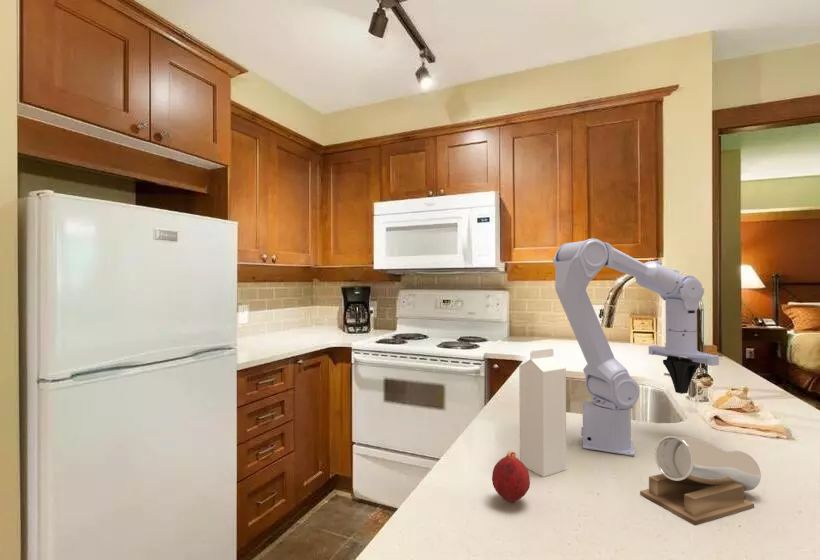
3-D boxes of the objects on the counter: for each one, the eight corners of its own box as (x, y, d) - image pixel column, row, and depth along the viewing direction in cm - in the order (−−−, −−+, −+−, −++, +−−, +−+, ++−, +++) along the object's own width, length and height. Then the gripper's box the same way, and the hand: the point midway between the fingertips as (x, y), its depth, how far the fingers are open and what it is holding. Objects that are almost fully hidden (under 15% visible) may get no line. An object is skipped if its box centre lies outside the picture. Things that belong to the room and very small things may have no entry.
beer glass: (773, 488, 64) (701, 476, 60) (731, 498, 69) (662, 486, 65) (750, 442, 68) (683, 428, 64) (712, 454, 73) (647, 441, 69)
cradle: (640, 494, 67) (640, 475, 67) (695, 481, 72) (695, 463, 72) (695, 525, 59) (694, 503, 59) (754, 507, 63) (754, 487, 63)
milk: (566, 470, 76) (567, 351, 76) (543, 477, 73) (543, 353, 73) (541, 457, 82) (541, 346, 82) (518, 464, 79) (519, 348, 79)
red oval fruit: (523, 516, 61) (523, 462, 61) (486, 505, 64) (486, 454, 64) (534, 499, 66) (534, 449, 66) (499, 489, 69) (499, 441, 69)
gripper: (728, 333, 85) (729, 399, 85) (663, 326, 98) (664, 383, 98) (705, 335, 82) (705, 403, 82) (641, 327, 96) (642, 386, 96)
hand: (681, 392), depth 90 cm, fingers closed
